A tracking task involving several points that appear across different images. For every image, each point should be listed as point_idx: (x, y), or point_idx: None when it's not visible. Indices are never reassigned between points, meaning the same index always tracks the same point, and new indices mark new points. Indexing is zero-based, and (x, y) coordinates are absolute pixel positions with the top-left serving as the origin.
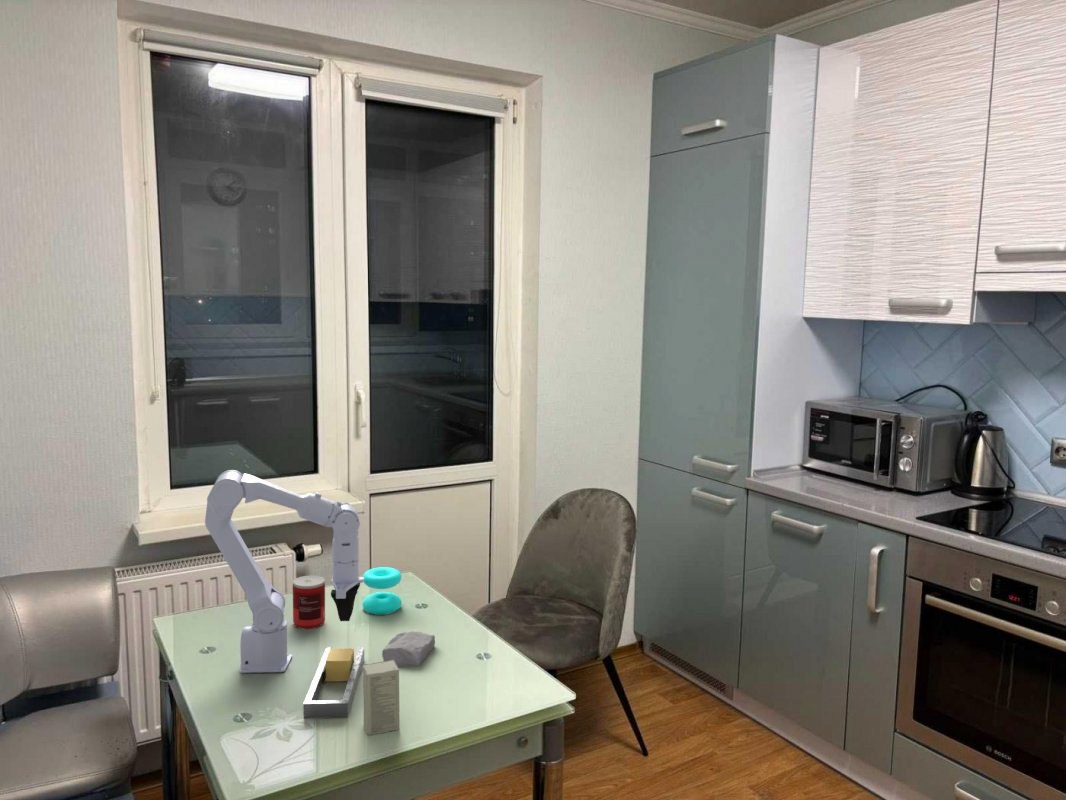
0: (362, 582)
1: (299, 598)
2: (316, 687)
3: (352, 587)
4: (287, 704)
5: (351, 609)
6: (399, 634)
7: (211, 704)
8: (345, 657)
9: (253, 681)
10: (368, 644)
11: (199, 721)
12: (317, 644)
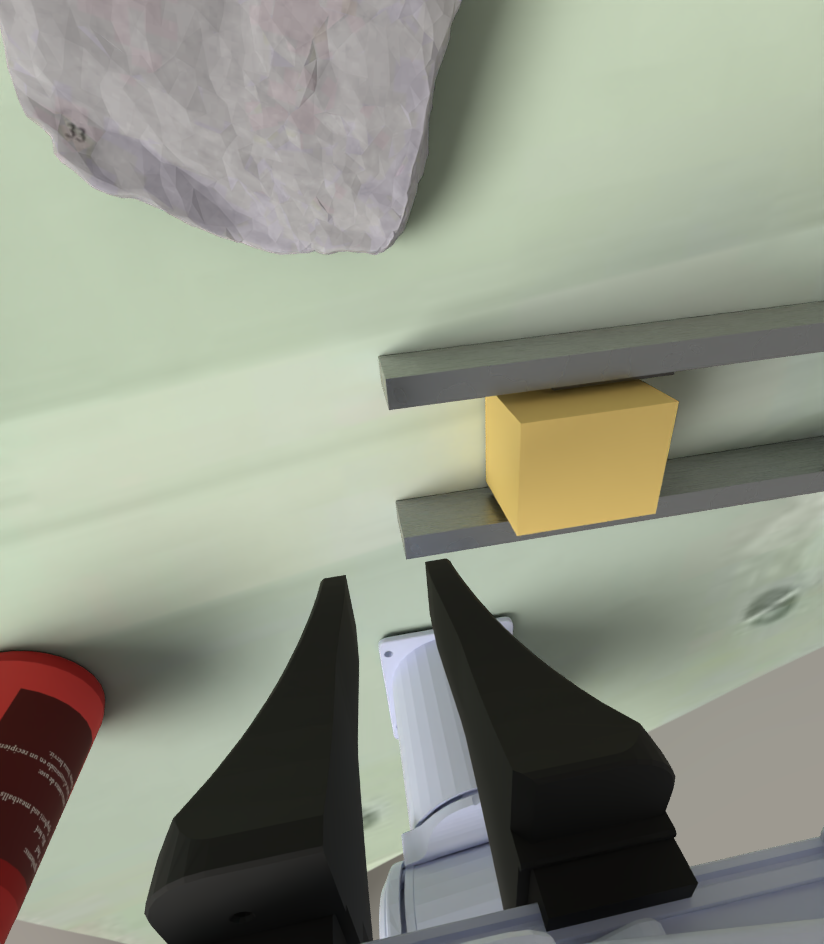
0: (535, 931)
1: (38, 865)
2: (783, 474)
3: (343, 858)
4: (735, 528)
5: (492, 617)
6: (82, 162)
7: (677, 691)
8: (632, 435)
9: (560, 663)
10: (178, 382)
11: (756, 677)
12: (245, 599)
